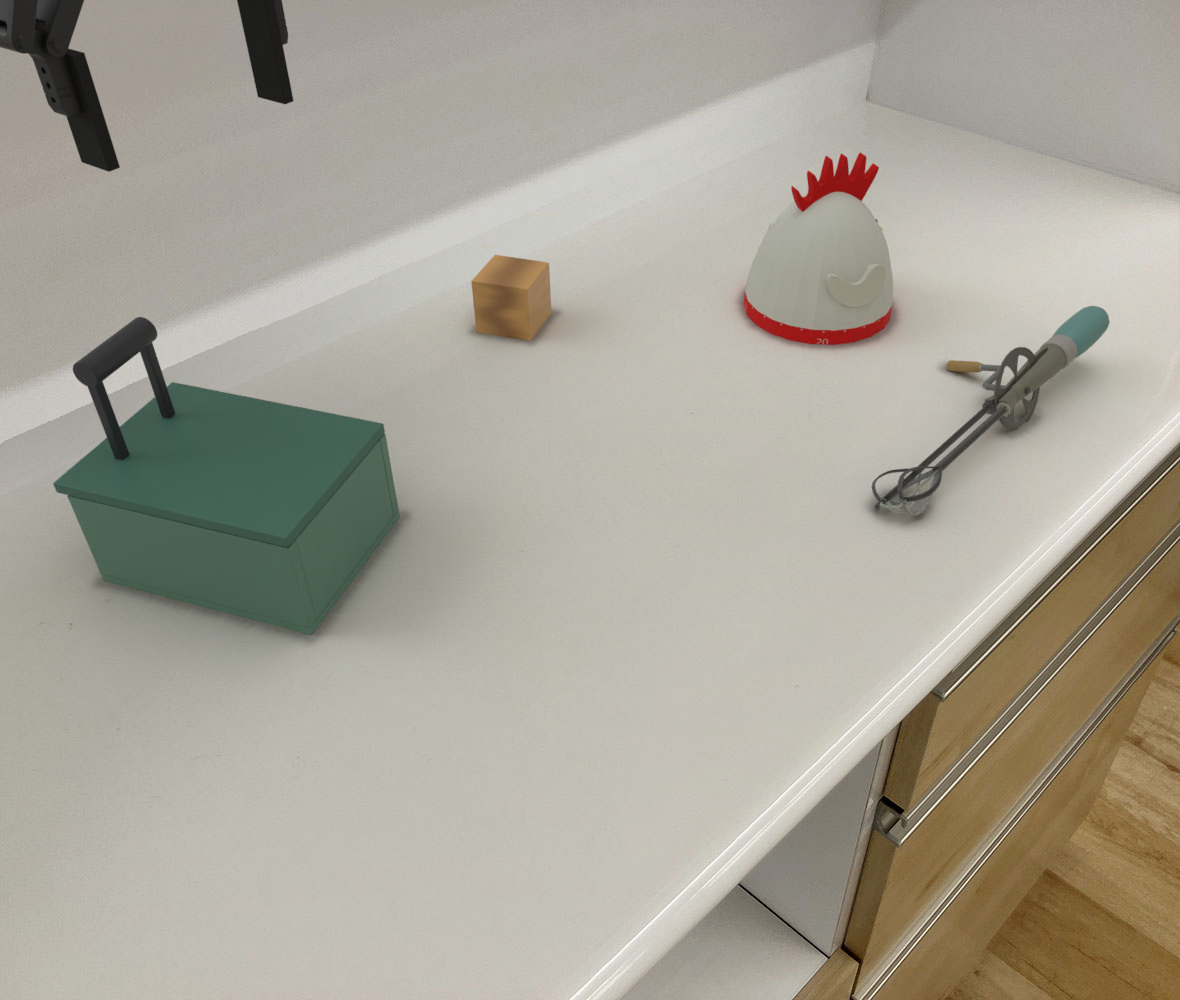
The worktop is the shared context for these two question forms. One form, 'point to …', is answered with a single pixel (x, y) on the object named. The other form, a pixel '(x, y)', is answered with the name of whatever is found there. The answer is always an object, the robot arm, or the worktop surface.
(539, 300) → the block
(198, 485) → the lunchbox lid
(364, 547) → the lunchbox
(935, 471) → the whisk
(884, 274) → the kitchen timer
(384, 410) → the worktop surface
